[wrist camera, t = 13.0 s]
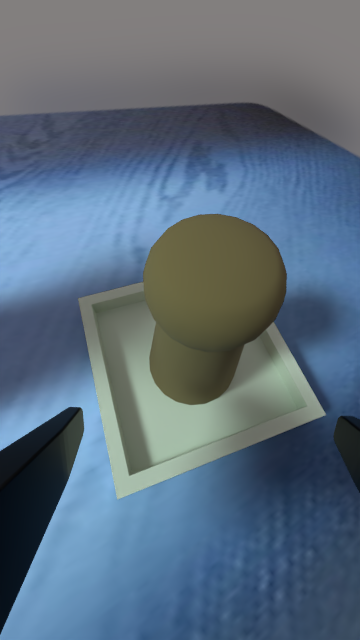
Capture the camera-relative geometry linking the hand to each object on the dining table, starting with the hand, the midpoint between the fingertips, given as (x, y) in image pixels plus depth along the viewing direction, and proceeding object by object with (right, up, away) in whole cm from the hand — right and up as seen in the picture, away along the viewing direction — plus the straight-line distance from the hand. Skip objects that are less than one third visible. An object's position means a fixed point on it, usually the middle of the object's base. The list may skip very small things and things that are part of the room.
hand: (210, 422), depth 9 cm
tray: (0, +1, +9) cm, 9 cm away
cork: (0, +1, +9) cm, 9 cm away
